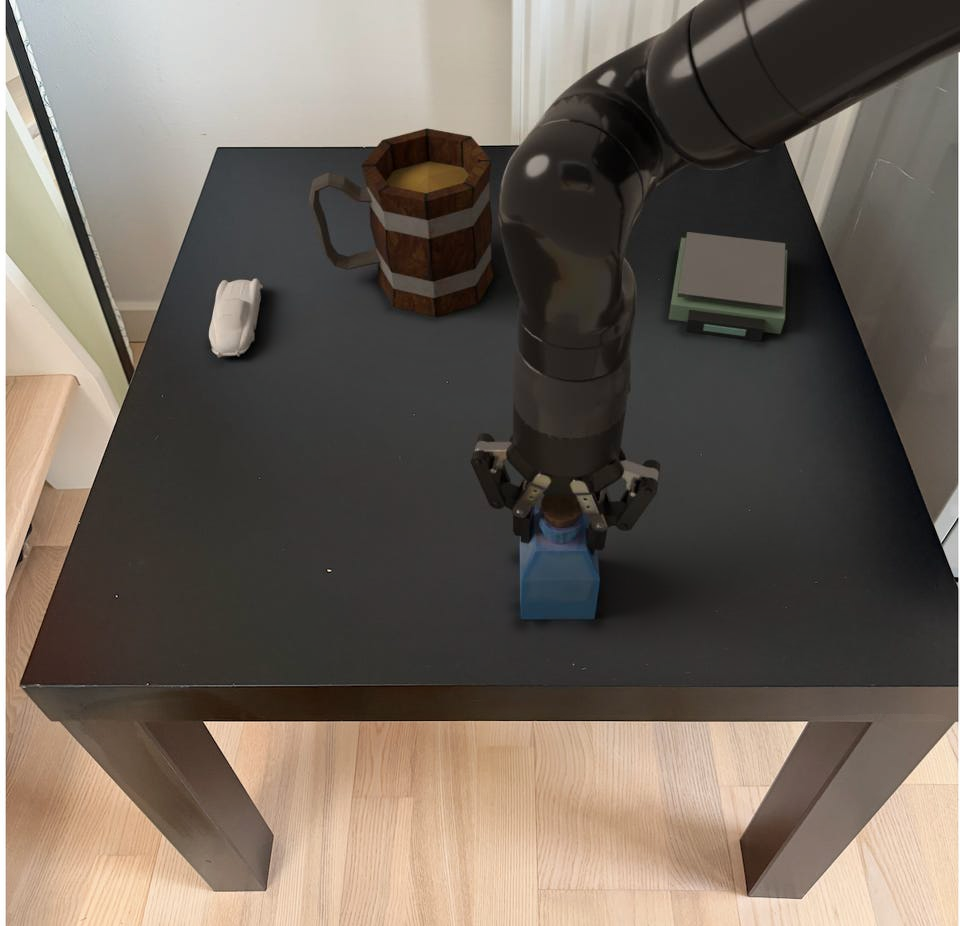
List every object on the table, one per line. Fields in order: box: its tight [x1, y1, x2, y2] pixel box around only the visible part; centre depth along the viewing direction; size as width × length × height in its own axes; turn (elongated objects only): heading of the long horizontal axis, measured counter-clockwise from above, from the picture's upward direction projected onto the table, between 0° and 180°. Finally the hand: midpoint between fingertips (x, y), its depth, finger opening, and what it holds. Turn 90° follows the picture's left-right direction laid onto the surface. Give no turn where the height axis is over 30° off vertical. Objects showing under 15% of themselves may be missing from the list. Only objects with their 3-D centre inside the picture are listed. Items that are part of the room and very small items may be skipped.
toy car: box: [208, 278, 264, 358], centre depth 100 cm, size 5×12×4 cm, turn 3°
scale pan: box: [677, 231, 786, 310], centre depth 100 cm, size 11×11×1 cm
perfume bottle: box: [519, 494, 600, 620], centre depth 74 cm, size 6×6×12 cm
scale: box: [668, 237, 788, 342], centre depth 101 cm, size 12×14×2 cm
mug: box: [308, 127, 495, 318], centre depth 100 cm, size 20×14×15 cm
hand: (559, 539), depth 73 cm, fingers closed on perfume bottle, 4 cm apart
